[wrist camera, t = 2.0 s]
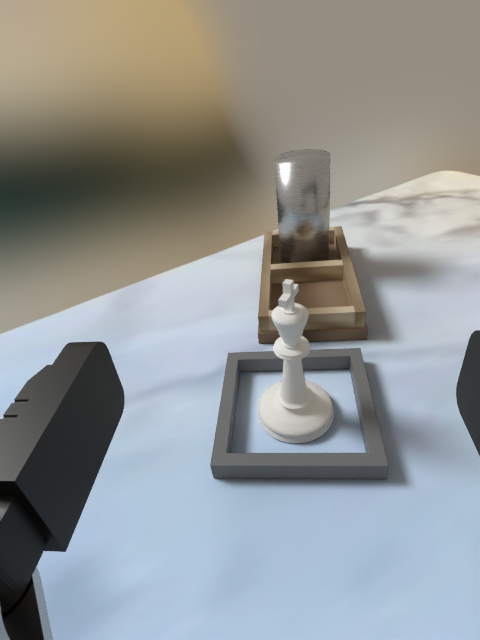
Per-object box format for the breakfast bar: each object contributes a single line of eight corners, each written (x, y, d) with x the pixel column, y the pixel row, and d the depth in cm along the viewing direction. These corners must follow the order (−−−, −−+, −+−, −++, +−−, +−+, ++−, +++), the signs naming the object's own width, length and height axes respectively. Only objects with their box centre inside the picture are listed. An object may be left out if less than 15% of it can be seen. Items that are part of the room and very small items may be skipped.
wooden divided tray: (342, 246, 45) (342, 225, 43) (366, 339, 32) (368, 313, 30) (265, 252, 46) (263, 231, 44) (258, 343, 33) (256, 318, 31)
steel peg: (326, 247, 43) (327, 147, 37) (331, 270, 39) (333, 162, 33) (280, 250, 43) (274, 152, 38) (280, 273, 40) (273, 167, 34)
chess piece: (343, 396, 27) (349, 265, 22) (319, 454, 24) (318, 317, 18) (275, 378, 30) (264, 254, 24) (244, 429, 26) (223, 298, 20)
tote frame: (359, 360, 30) (360, 348, 29) (386, 478, 22) (388, 465, 22) (230, 364, 31) (228, 352, 31) (213, 478, 24) (210, 465, 23)
